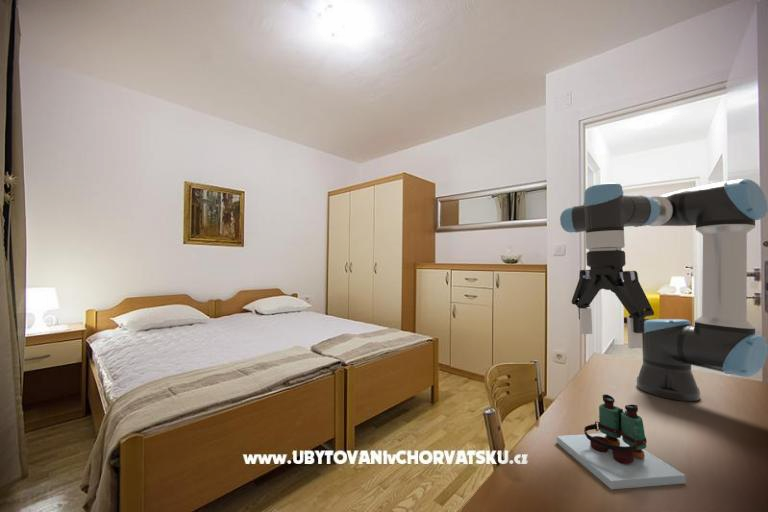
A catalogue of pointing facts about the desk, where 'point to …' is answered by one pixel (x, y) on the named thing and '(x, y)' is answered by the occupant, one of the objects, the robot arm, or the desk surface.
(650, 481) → the board
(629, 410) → the binoculars
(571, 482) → the desk surface
